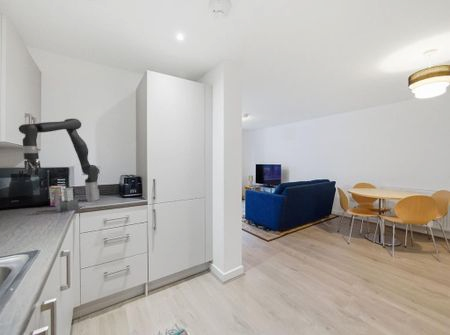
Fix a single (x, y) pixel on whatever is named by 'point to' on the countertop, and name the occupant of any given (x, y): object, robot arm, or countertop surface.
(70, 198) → the column
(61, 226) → the countertop surface
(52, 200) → the candy bar box
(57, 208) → the arrow post
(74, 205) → the stand base
